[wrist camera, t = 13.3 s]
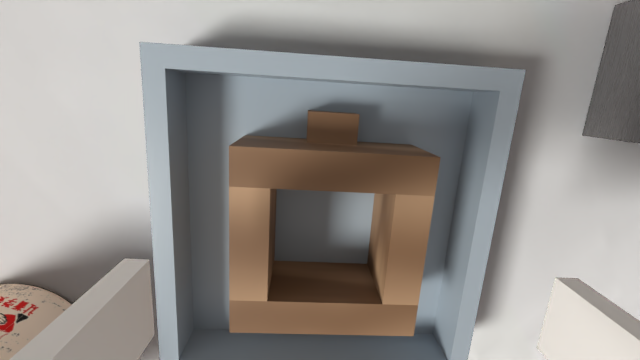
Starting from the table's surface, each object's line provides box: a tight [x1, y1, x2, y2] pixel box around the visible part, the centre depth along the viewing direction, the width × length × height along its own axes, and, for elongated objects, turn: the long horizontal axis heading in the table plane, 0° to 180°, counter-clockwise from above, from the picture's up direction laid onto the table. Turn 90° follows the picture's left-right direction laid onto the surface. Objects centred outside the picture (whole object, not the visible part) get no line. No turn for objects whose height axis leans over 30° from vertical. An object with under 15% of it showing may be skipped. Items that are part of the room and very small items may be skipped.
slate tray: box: [139, 42, 526, 360], centre depth 18 cm, size 17×17×4 cm
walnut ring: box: [229, 110, 441, 336], centre depth 17 cm, size 10×9×4 cm
